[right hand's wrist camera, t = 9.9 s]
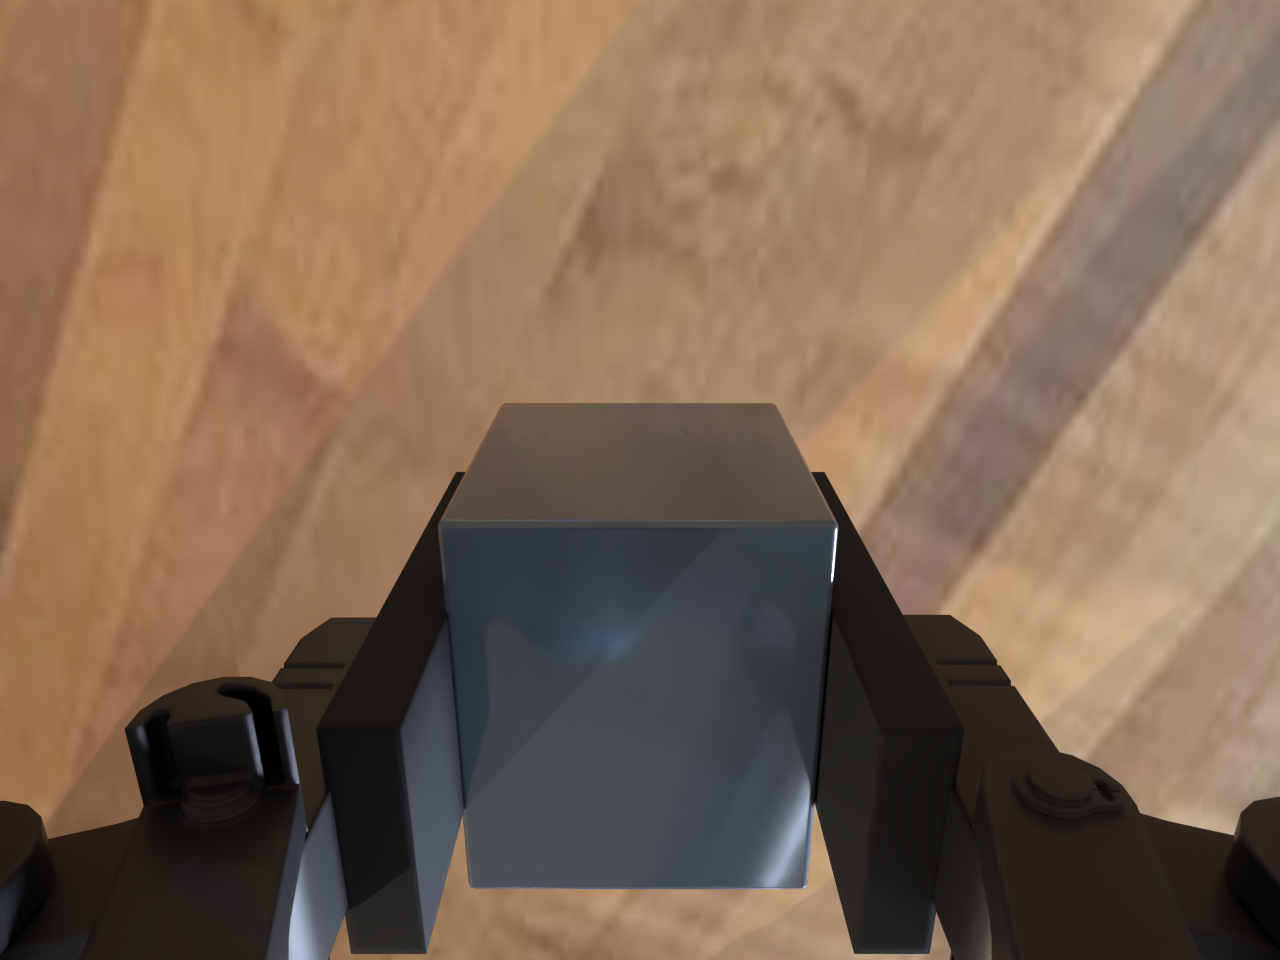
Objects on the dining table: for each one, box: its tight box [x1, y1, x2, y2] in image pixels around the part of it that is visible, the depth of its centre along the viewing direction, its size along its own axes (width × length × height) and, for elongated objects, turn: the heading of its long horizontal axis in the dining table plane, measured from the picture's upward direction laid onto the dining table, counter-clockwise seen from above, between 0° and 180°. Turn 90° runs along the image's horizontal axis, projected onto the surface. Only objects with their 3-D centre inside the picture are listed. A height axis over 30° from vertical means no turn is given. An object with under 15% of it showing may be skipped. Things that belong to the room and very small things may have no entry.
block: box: [438, 403, 838, 889], centre depth 13 cm, size 5×4×5 cm
